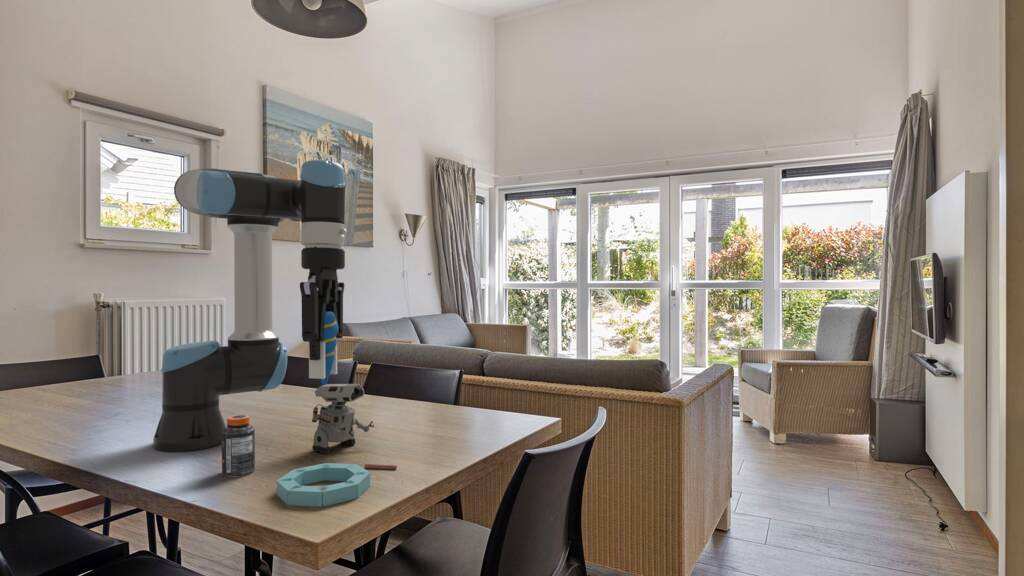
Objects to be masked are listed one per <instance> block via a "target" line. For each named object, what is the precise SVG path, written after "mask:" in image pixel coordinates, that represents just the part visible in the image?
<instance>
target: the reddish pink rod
mask: <svg viewBox="0 0 1024 576" xmlns="http://www.w3.org/2000/svg"><path fill="white" fill-rule="evenodd" d="M363 467H364V469H378V470H397V468H398V465H396V464H377V463H376V464H373V463H365V464H364V466H363Z"/></svg>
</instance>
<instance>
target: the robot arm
mask: <svg viewBox="0 0 1024 576" xmlns="http://www.w3.org/2000/svg"><path fill="white" fill-rule="evenodd" d="M299 178H300V179H288V178H281V177H276V176H274V175H269V174H263V173H261V172H258V173H257V172H249V171H237V170H229V169H228V170H227V169H219V168H196V169H192V170H188V171H186V172H183V173H181V174H180V176H179V177H178V178H177V179H176V181H175V183H174V185H173V186H174V187H173V195H174V198H175V200H176V201H177V203H178V204H179V205H180V206H181V207H182V208H183V209H185V210H186V211H188V212H190V213H193V214H196V215H199V216H204V217H208V218H216V219H217V218H218V219H225V220H226V223H227V224H226V225H227V226H226V227H227V228H228V229H229V230H230V231H231V232H232V233H233V235H234V238H233V241H234V243H233V245H234V246H233V247H234V249H233V251H234V252H233V253H234V258H233V259H234V263H233V265H234V266H233V267H234V271H233V272H234V274H233V275H234V278H233V279H234V284H233V286H234V292H233V293H234V296H233V297H234V330H233V332H232V333H231V334H230V335H229V336H228V337H227V346H226V345H225V346H222V345H221V344H220V343H219V341H217V340H205V341H196V342H191V343H190V342H188V343H185V344H180V345H176V346H173V347H170V348H168V349H166V350H165V351H164V353H163V355H162V360H161V361H162V362H161V364H162V365H161V369H160V371H161V373H162V374H161V375H162V377H161V378H162V381H161V382H162V387H161V388H162V390H161V392H162V393H161V394H162V395H161V396H162V397H161V398H162V399H161V405H162V406H161V407H162V409H161V416H160V418H159V421H158V423H157V427H156V429H155V430H156V431H155V434H154V435H153V439H152V440H153V443H152V444H153V446H152V448H153V449H154V450H156V451H158V452H167V453H169V452H170V453H171V452H172V453H177V452H178V453H179V452H180V453H181V452H188V451H189V452H192V451H198V450H203V449H208V448H212V447H216V446H219V445H222V431H223V430H224V429H225V428H226V427H227V425H226V423H225V421H224V418H223V415H222V412H221V409H220V396H224V395H225V396H226V395H233V394H241V393H242V394H243V393H251V392H259V393H261V392H263V391H269V390H274V389H276V388H278V387H279V386H280V385H281V384H282V383H283V381H284V379H285V375H286V371H287V366H288V353H287V352H288V351H287V350H288V349H287V347H286V345H285V344H284V343H282V342H281V341H280V337H279V335H278V334H277V333H276V332H275V331H274V330H273V235H274V234H275V233H276V231H278V230H279V224H281V223H282V222H284V221H285V219H286V220H289V221H292V222H301V225H300V226H301V227H300V229H301V232H300V233H301V234H300V236H301V237H300V239H301V240H300V244H301V245H302V246H303V247H304V248H302V250H301V254H300V255H301V256H300V257H301V258H300V259H301V260H300V261H301V263H300V265H301V268H302V269H304V270H309V273H308V276H307V280H306V281H300V283H299V289H300V295H301V296H300V297H301V338H302V342H304V343H305V342H308V379H315V380H316V379H324V378H325V341H322V340H323V332H324V316H325V311H331V312H333V313H334V314H335V318H336V320H337V323H338V327H339V328H338V332H337V335H336V338H337V339H342V338H343V337H344V335H343V333H344V291H345V283H344V282H339V281H338V280H339V278H338V272H337V270H343V269H345V267H346V251H345V250H344V248H342V247H344V245H345V241H346V240H345V239H346V238H345V235H346V234H347V231H348V230H347V229H346V228H345V225H346V224H345V221H346V220H345V219H346V218H345V217H346V216H345V215H346V214H345V209H346V207H345V206H346V204H345V203H346V202H345V201H346V185H347V183H346V179H345V169H344V167H343V166H342V164H340V163H338V162H335V161H330V160H324V159H310V160H307V161H304V162H303V163H302V164H301V171H300V174H299ZM334 354H335V357H334V362H333V365H332V370H331V373H330V375H337V374H338V343H337V344H336V347H335V350H334Z"/></svg>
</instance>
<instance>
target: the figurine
mask: <svg viewBox="0 0 1024 576" xmlns="http://www.w3.org/2000/svg"><path fill="white" fill-rule="evenodd" d="M314 394H315V396H316V397H317V398H318V397H319V398H320V397H321V398H322V399H323V400H324V401H325V402H326V403H327V402H328V403H330V404H328V405H323V404H320V403H319V404H317V405H316V406H315V407H313V409H312V410H313V411H312V417H311V418H312V419H311V422H312V423H317V421H318V425H317V429H316V431H315V433H314V435H313V445H312V447H311V448H312V451H314V453H321V454H324V455H325V454H329V452H331V450H330V446H329V443H336V444H337V443H340V445H347V446H350V447H351V446H355V444H356V438H355V431H354V426H356V428H357V429H361V430H362V431H363V432H364V433H368V432H369V431H370V428H375V426H374V421H373V420H371V422H370V423H369V424H368V425H365V424H363V423H362V422H361V421H359V420H358V418H355V411H356V410H355V408H353V407H350V406H349V405H347V402H348V403H349V402H350V403H352V402H354V401H356V400H359V399H362V398H364V397H365V389H364V388H363V387H362V385H361V384H360V383H329V384H328V383H327V384H326V385H323V384H322V385H321V386H319V387H318V388H316V390H315V391H314ZM318 406H320V410H319V407H318ZM318 413H319V414H318Z"/></svg>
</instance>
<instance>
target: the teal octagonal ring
mask: <svg viewBox="0 0 1024 576" xmlns="http://www.w3.org/2000/svg"><path fill="white" fill-rule="evenodd" d="M325 481H334V482H337V483H333V484H330V485H324V486H318V485H317V486H316V485H315V486H313V485H311V484H315V483H319V482H325ZM370 487H371V472H370V471H369V470H367V469H366V468H365V467H364V468H363V467H362V466H361V465H359V464H357V463H356V464H355V463H336V462H335V463H331V462H324V463H320V464H315V465H309V466H305V467H300V468H294V469H291V470H290V471H289V472H287V473H285V474H284V475H283V476H281V477H280V478H278V479H277V480H276V496H277V497H279V498H280V499H281V501H283V502H284V503H285V504H286V505H287V506H296V507H297V506H300V507H314V508H317V507H319V508H323V507H328V506H332V505H336V504H337V505H338V504H340V503H344V502H349V501H352V500H357V499H358V498H360V497H361V496H362V494H364V493H365V492H366V491H367V490H368V489H369V488H370Z"/></svg>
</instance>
